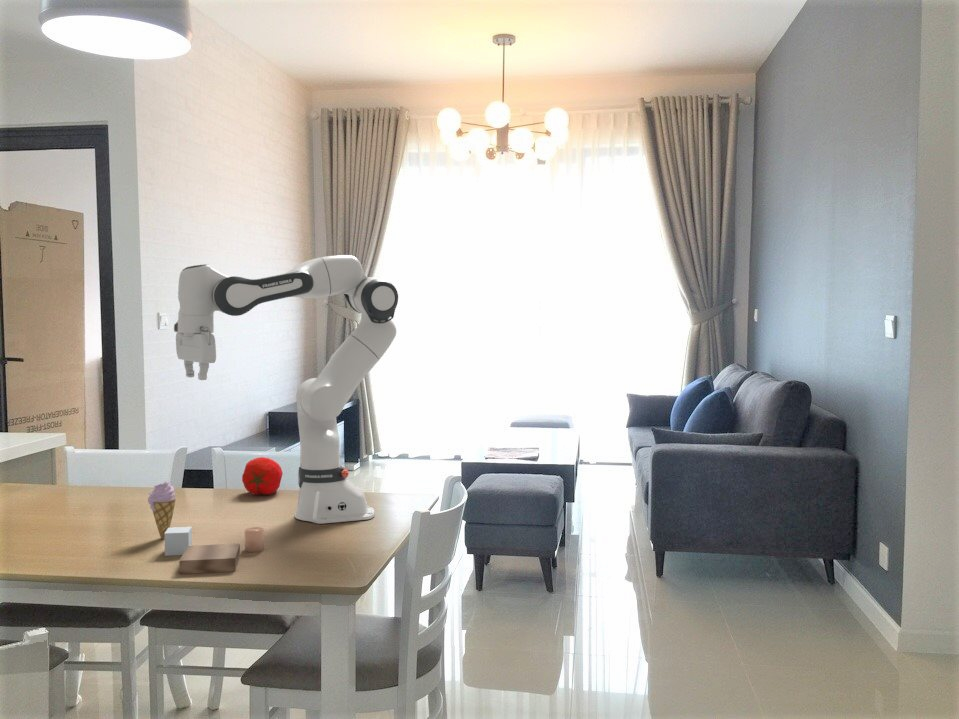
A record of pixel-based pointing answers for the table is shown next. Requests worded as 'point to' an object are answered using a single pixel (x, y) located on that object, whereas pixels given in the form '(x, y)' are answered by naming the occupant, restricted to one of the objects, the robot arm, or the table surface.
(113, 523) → the table surface
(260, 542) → the peach rounded block
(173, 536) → the white cube
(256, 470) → the tomato
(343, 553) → the table surface
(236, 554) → the walnut plinth
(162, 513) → the ice cream cone
